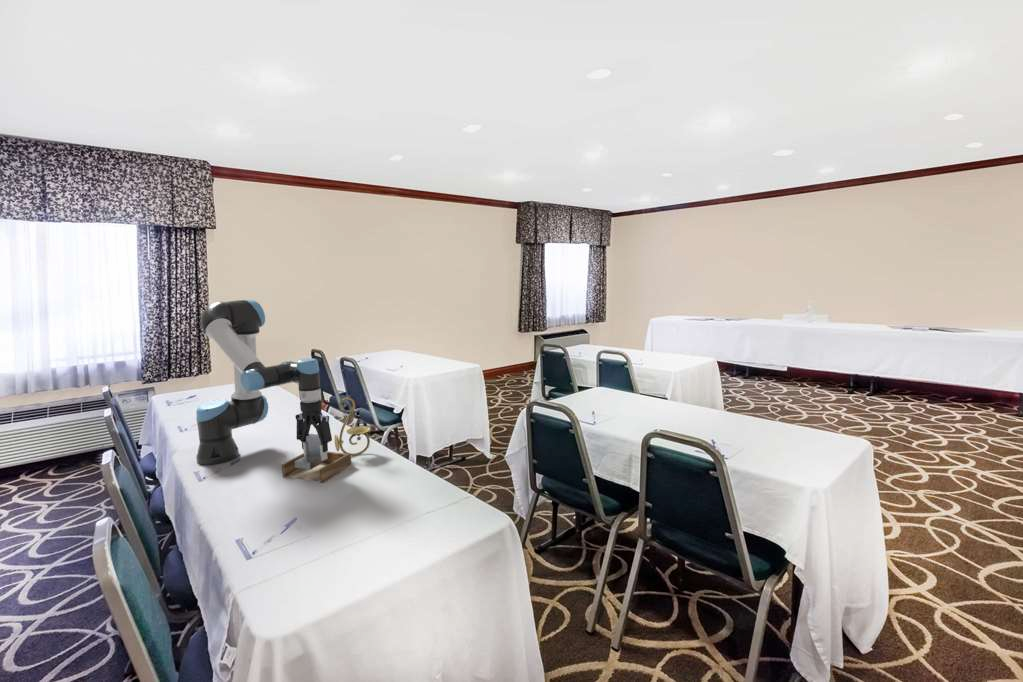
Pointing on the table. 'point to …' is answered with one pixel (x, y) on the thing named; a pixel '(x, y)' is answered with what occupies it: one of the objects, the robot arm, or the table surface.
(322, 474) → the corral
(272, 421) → the table surface
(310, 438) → the angle bracket
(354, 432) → the wall sconce
